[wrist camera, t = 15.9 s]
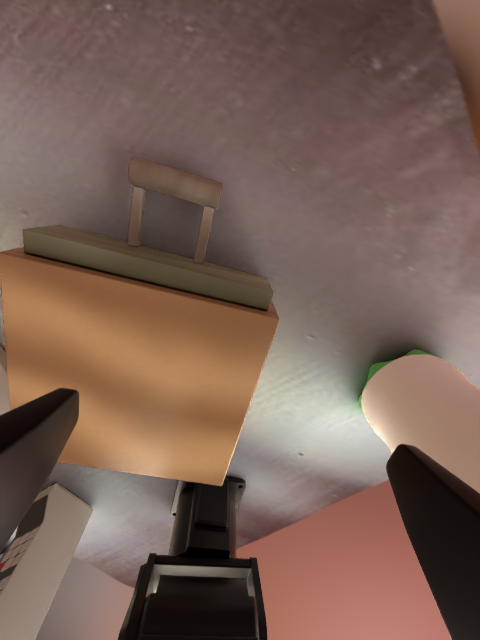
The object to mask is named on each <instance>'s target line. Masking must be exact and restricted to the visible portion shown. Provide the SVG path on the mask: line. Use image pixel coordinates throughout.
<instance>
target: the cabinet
mask: <svg viewBox="0 0 480 640" xmlns="http://www.w3.org/2000/svg"><path fill="white" fill-rule="evenodd" d="M0 283H1V296H2V309H3V322H4V336H5V349H6V362H7V375H8V388H9V401H10V410H13V409H15V408H17V407H19V406H21V405H23V404H26V403H28V402H30V401H32V400H34V399H36V398H39V397H41V396H43V395H45V394H47V393H49V392H52V391H54V390H56V389H58V388H69V389H75V390H77V391H78V392H79V417H78V421H77V424H76V426H75V428H74V430H73V431H72V433H71V435H70V437H69V439H68V441H67V443H66V445H65V447H64V449H63V451H62V452H61V454H60V456H59V458H58V460H57V462H60V463H67V464H74V465H81V466H88V467H94V468H101V469H108V470H115V471H122V472H128V473H135V474H142V475H149V476H156V477H162V478H169V479H176V480H183V481H190V482H196V483H203V484H210V485H217V486H222V484H223V481H224V478H225V476H226V473H227V470H228V467H229V464H230V461H231V458H232V455H233V453H234V450H235V447H236V444H237V441H238V438H239V435H240V432H241V429H242V427H243V424H244V421H245V418H246V415H247V412H248V409H249V406H250V404H251V401H252V398H253V395H254V392H255V389H256V386H257V383H258V380H259V378H260V375H261V372H262V369H263V366H264V363H265V360H266V357H267V354H268V352H269V349H270V346H271V343H272V340H273V337H274V334H275V331H276V329H277V326H278V323H279V320H280V319H279V316H278V315H277V312H276V310H275V307H274V305H273V303H272V300H271V302H270V305H269V308H268V310H264V309H260V308H256V307H252V306H247V305H243V304H239V303H235V302H231V301H226V300H222V299H218V298H214V297H210V296H206V295H201V294H197V293H193V292H189V291H185V290H181V289H176V288H172V287H168V286H164V285H160V284H155V283H151V282H147V281H143V280H139V279H135V278H130V277H126V276H122V275H118V274H114V273H110V272H105V271H101V270H97V269H93V268H89V267H84V266H80V265H76V264H72V263H68V262H64V261H59V260H55V259H51V258H47V257H43V256H39V255H34V254H30V253H26V252H24V247H23V248H17V249H12V250H8V251H3V252H0Z"/></svg>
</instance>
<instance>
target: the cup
mask: <svg viewBox="0 0 480 640" xmlns="http://www.w3.org/2000/svg"><path fill="white" fill-rule="evenodd" d="M358 401H359V405H360V408H361V410H362V412H363V414H364V415H365V417H366V419H367V420H368V422H369V424H370V425H371V427H372V428H373V430H374V431H375V432H376V433H377V435H378V436H379V437H380V438H381V439H382V440H383V441H385V442H386V444H387V445H388V447H389V449H390V450H391V452H392V453H393V452H394V450H395V449H396V447H397V446H398V445H399V444H407V445H412V446H415V447H417V448H418V449H420V450H421V451H422V452H424V453H425V454H427V455H428V456H429V457H431V458H432V459H433V460H435V461H436V462H437V463H439V464H440V465H442V466H443V467H444V468H446V469H447V470H448V471H450V472H451V473H452V474H454V475H455V476H457V477H458V478H459V479H461V480H462V481H463V482H465V483H466V484H467V485H469V486H470V487H472V488H473V489H474V490H476V491H477V492H478V493H480V389H478V388H477V387H475V386H474V385H472V384H471V383H470V382H469V381H468V379H467V378H466V376H465V375H464V374H463V373H462V372H461V371H459V370H458V369H457V368H455V367H454V366H452V365H451V364H450V363H448V362H446V361H445V360H443V359H441V358H439V357H436V356H433V355H431V354H429V353H427V352H424V351H421V350H414V349H413V350H411V351H410V352H408V353H407V354H406V355H405V356H403V357H400V358H398V359H395V360H391V361H388V362H379V363H374V364H373V365H372V366H371V367H370V368H369V374H368V379H367V382H366V385H365V388H364V390H363V393H362V394H361V395H360V397H359V399H358Z"/></svg>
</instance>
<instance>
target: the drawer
mask: <svg viewBox="0 0 480 640" xmlns="http://www.w3.org/2000/svg"><path fill="white" fill-rule="evenodd" d="M128 177H129V182H130V184H132V185H134V186H133V192H132V201H131V211H130V221H129V231H128V241H127V242H125V241H121V240H117V239H113V238H109V237H105V236H102V235H98V234H94V233H90V232H86V231H82V230H78V229H74V228H70V227H66V226H62V225H55V226H46V227H37V228H27V229H23V243H24V252H26V253H30V254H34V255H39V256H43V257H47V258H51V259H55V260H59V261H64V262H68V263H72V264H76V265H80V266H84V267H89V268H93V269H97V270H101V271H105V272H110V273H114V274H118V275H122V276H126V277H130V278H135V279H139V280H143V281H147V282H151V283H155V284H160V285H164V286H168V287H172V288H176V289H181V290H185V291H189V292H193V293H197V294H201V295H206V296H210V297H214V298H218V299H222V300H226V301H231V302H235V303H239V304H243V305H247V306H252V307H256V308H260V309H264V310H268V308H269V305H270V302H271V299H272V296H273V293H274V291H273V289H272V287H271V285H270V283H269V282H268V280H267V278H266V277H262V276H258V275H254V274H250V273H246V272H242V271H238V270H234V269H231V268H227V267H223V266H219V265H215V264H211V263H207V262H204V258H205V253H206V248H207V243H208V239H209V234H210V229H211V224H212V220H213V215H214V210H215V209H218V207H219V204H220V200H221V195H222V190H223V183H221V182H217V181H214V180H211V179H207V178H204V177H200V176H197V175H194V174H190V173H187V172H184V171H180V170H177V169H174V168H170V167H167V166H163V165H160V164H157V163H153V162H150V161H147V160H143V159H140V158H137V157H133V158H132V159H131V161H130V163H129V169H128ZM146 189H148V190H152V191H155V192H159V193H162V194H166V195H169V196H173V197H176V198H180V199H184V200H187V201H191V202H194V203H198V204H201V205H205V206H204V209H203V214H202V219H201V224H200V229H199V234H198V240H197V245H196V250H195V255H194V259H191V258H188V257H184V256H180V255H176V254H172V253H168V252H164V251H160V250H156V249H152V248H148V247H145V246H141V245H140V239H141V231H142V222H143V214H144V206H145V197H146Z"/></svg>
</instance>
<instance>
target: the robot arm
mask: <svg viewBox="0 0 480 640" xmlns="http://www.w3.org/2000/svg"><path fill="white" fill-rule="evenodd" d="M78 417H79V392H78V391H77V390H75V389H69V388H58V389H56V390H54V391H52V392H49V393H47V394H45V395H43V396H41V397H39V398H36V399H34V400H32V401H30V402H28V403H26V404H23V405H21V406H19V407H17V408H15V409H13V410H10V411H8V412H6V413H4V414H2V415H0V552H1V551H2V549H3V548H4V546H5V545H6V543H7V542H8V540H9V539H10V537H11V535H12V534H13V532H14V531H15V529H16V528H17V526H18V525H19V523H20V522H21V520H22V519H23V517H24V516H25V514H26V513H27V511H28V510H29V508H30V506H31V505H32V503H33V502H34V500H35V499H36V497H37V496H38V494H39V493H40V491H41V489H42V488H43V486H44V484H45V483H46V481H47V479H48V477H49V475H50V473H51V471H52V470H53V468H54V466H55V464H56V462H57V460H58V458H59V456H60V454H61V452H62V451H63V449H64V447H65V445H66V443H67V441H68V439H69V437H70V435H71V433H72V431H73V430H74V428H75V426H76V424H77V421H78ZM386 471H387V474H388V477H389V480H390V483H391V486H392V489H393V492H394V495H395V498H396V501H397V505H398V508H399V511H400V513H401V517H402V520H403V523H404V525H405V528H406V531H407V533H408V536H409V538H410V541H411V543H412V546H413V548H414V551H415V553H416V555H417V558H418V560H419V563H420V565H421V567H422V570H423V572H424V575H425V577H426V579H427V582H428V584H429V587H430V589H431V591H432V594H433V596H434V599H435V601H436V603H437V606H438V608H439V610H440V613H441V615H442V618H443V620H444V622H445V625H446V627H447V629H448V632H449V634H450V637H451V639H452V640H480V493H478V492H477V491H476V490H474V489H473V488H472V487H470V486H469V485H467V484H466V483H465V482H463V481H462V480H461V479H459V478H458V477H457V476H455V475H454V474H452V473H451V472H450V471H448V470H447V469H446V468H444V467H443V466H442V465H440V464H439V463H437V462H436V461H435V460H433V459H432V458H431V457H429V456H428V455H427V454H425V453H424V452H422V451H421V450H420V449H418V448H417V447H415V446H412V445H407V444H399V445H398V446H397V447H396V449H395V450H394V452H393V453H392V455H391V457H390V458H389V460H388V462H387V465H386ZM245 487H246V484H245V481H244V480H243V479H237V478H231V477H225V478H224V481H223V484H222V486H217V485H210V484H203V483H196V482H190V481H183V480H179V481H178V484H177V488H176V492H175V496H174V500H173V504H172V508H171V513H170V515H171V516H172V517H174V518H175V521H174V527H173V532H172V538H171V543H170V549H169V555H157V553H150V554H149V558H148V561H147V563H146V564H144V565H142V566H141V567H140V571H139V575H138V579H137V583H136V587H135V590H134V594H133V597H132V600H131V603H130V605H129V608H128V611H127V614H126V616H125V619H124V622H123V625H122V628H121V630H120V633H119V637H118V640H267V627H266V617H265V611H264V604H263V597H262V591H261V584H260V578H259V571H258V564H257V558H251V557H250V559H239V558H236V510H237V507H238V505H239V502H240V500H241V497H242V495H243V492H244V490H245Z"/></svg>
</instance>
